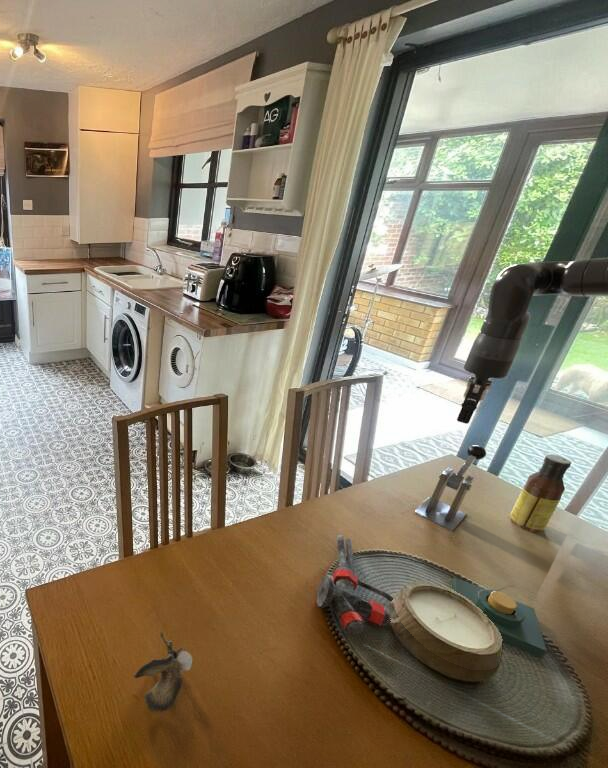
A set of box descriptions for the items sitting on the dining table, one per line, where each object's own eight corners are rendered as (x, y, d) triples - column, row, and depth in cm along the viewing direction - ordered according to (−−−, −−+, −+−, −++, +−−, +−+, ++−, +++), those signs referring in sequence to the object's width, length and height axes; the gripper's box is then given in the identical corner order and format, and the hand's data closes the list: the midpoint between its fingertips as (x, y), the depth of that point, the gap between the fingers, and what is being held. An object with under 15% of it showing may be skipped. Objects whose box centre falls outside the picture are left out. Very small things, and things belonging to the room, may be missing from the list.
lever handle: (469, 448, 105) (472, 440, 103) (487, 455, 103) (490, 446, 101) (442, 485, 101) (444, 477, 99) (459, 493, 99) (463, 485, 96)
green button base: (528, 615, 79) (538, 601, 78) (541, 659, 72) (552, 644, 70) (450, 584, 86) (457, 571, 84) (454, 621, 78) (462, 607, 76)
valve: (405, 671, 71) (314, 626, 76) (383, 567, 93) (314, 537, 98) (424, 649, 69) (328, 604, 74) (397, 547, 90) (324, 517, 95)
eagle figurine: (146, 639, 73) (122, 677, 66) (172, 623, 70) (150, 663, 62) (176, 677, 71) (155, 722, 64) (204, 664, 68) (185, 709, 60)
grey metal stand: (428, 500, 109) (445, 460, 104) (465, 517, 104) (485, 476, 98) (412, 515, 104) (430, 474, 99) (450, 534, 98) (471, 492, 93)
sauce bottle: (544, 529, 100) (586, 462, 92) (537, 539, 97) (580, 471, 89) (509, 513, 105) (545, 448, 97) (501, 523, 102) (538, 457, 94)
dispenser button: (510, 603, 78) (514, 597, 77) (514, 618, 75) (518, 612, 74) (486, 594, 79) (489, 587, 79) (488, 608, 77) (492, 601, 76)
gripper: (512, 366, 86) (481, 432, 93) (516, 350, 95) (488, 411, 102) (466, 357, 91) (440, 420, 97) (475, 342, 100) (450, 401, 106)
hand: (465, 416), depth 100 cm, fingers open, 8 cm apart
